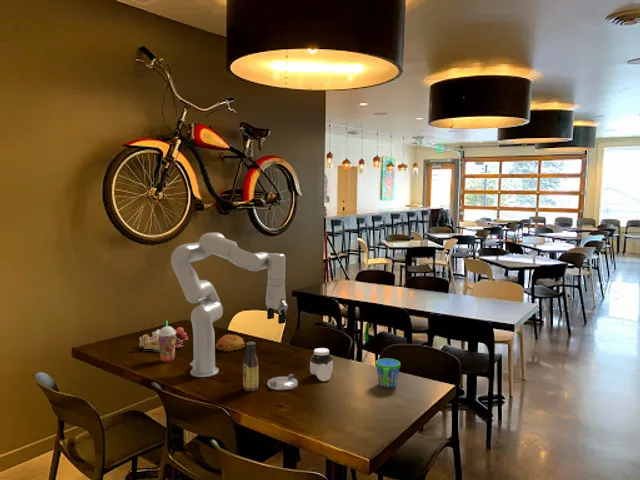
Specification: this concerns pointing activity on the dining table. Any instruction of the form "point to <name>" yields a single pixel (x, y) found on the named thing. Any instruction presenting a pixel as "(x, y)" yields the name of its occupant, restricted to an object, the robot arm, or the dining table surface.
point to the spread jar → (321, 364)
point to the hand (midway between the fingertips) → (276, 321)
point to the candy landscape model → (154, 341)
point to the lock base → (282, 383)
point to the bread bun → (230, 343)
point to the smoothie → (167, 343)
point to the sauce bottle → (250, 368)
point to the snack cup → (387, 372)
